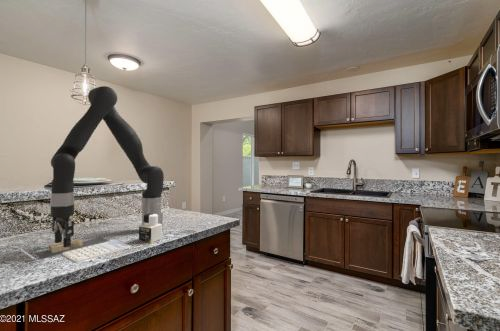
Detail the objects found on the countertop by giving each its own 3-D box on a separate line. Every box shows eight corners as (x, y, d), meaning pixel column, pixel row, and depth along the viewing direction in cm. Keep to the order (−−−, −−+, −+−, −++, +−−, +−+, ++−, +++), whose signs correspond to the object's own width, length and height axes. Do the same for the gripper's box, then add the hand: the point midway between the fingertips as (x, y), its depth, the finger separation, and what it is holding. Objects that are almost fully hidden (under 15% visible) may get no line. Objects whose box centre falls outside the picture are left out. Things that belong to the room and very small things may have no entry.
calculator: (60, 257, 93) (60, 252, 93) (114, 243, 109) (114, 238, 109) (75, 265, 85) (75, 260, 85) (131, 249, 102) (131, 244, 102)
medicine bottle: (138, 241, 110) (138, 214, 110) (150, 237, 117) (150, 211, 117) (150, 243, 107) (151, 216, 107) (162, 239, 114) (162, 213, 114)
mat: (100, 238, 113) (100, 237, 113) (111, 242, 108) (111, 241, 108) (33, 254, 93) (33, 253, 93) (42, 260, 88) (42, 258, 88)
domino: (82, 241, 102) (52, 247, 94) (82, 246, 102) (52, 253, 94) (78, 238, 104) (48, 245, 96) (78, 243, 104) (48, 250, 96)
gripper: (44, 203, 99) (44, 243, 99) (58, 207, 91) (58, 251, 91) (66, 201, 105) (66, 239, 105) (81, 204, 97) (81, 245, 97)
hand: (62, 244), depth 98 cm, fingers open, 8 cm apart
